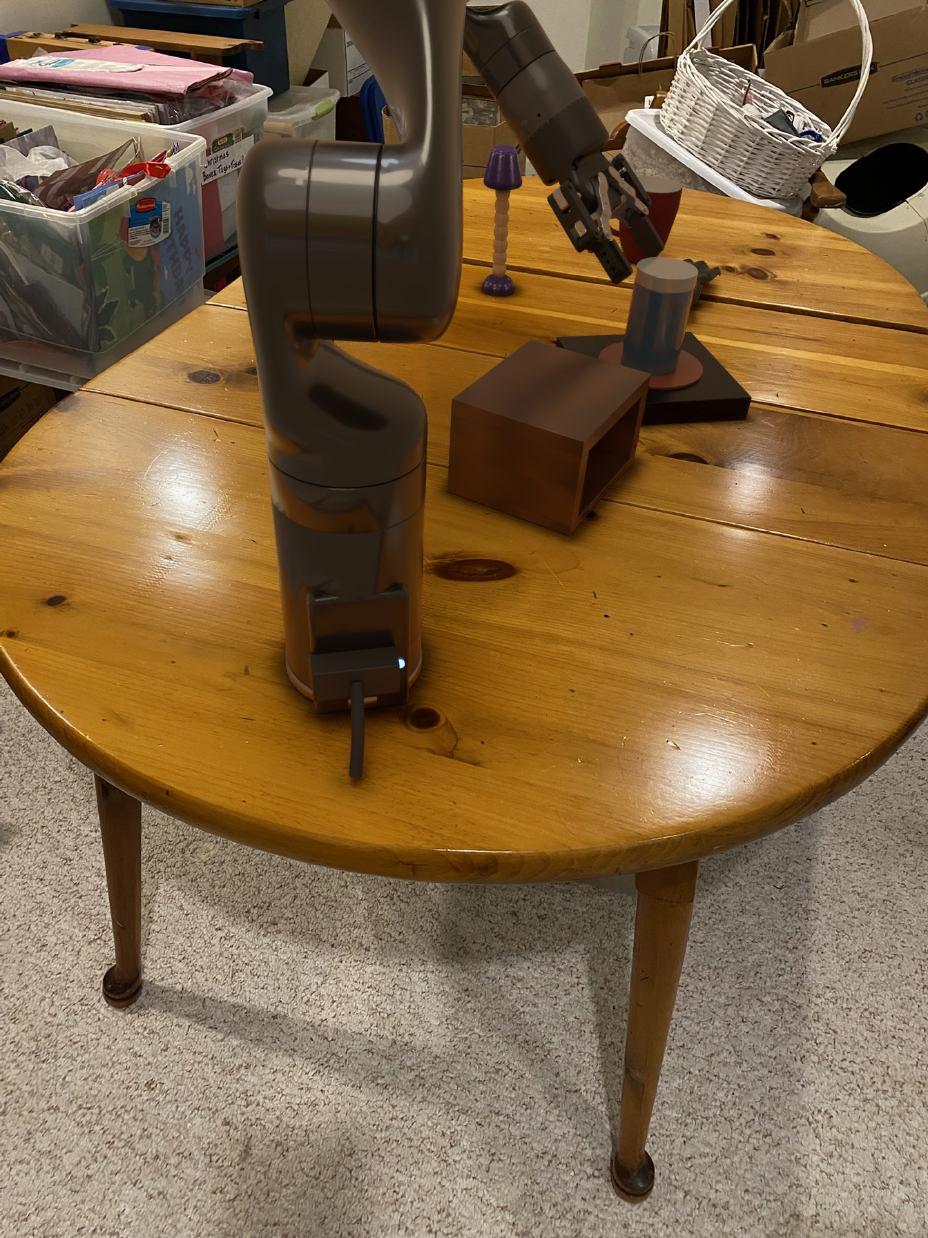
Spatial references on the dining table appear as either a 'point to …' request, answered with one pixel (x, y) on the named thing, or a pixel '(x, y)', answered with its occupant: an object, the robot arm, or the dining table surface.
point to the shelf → (546, 434)
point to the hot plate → (676, 382)
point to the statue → (702, 276)
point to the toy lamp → (501, 213)
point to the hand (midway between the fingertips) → (641, 266)
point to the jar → (658, 314)
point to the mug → (653, 213)
